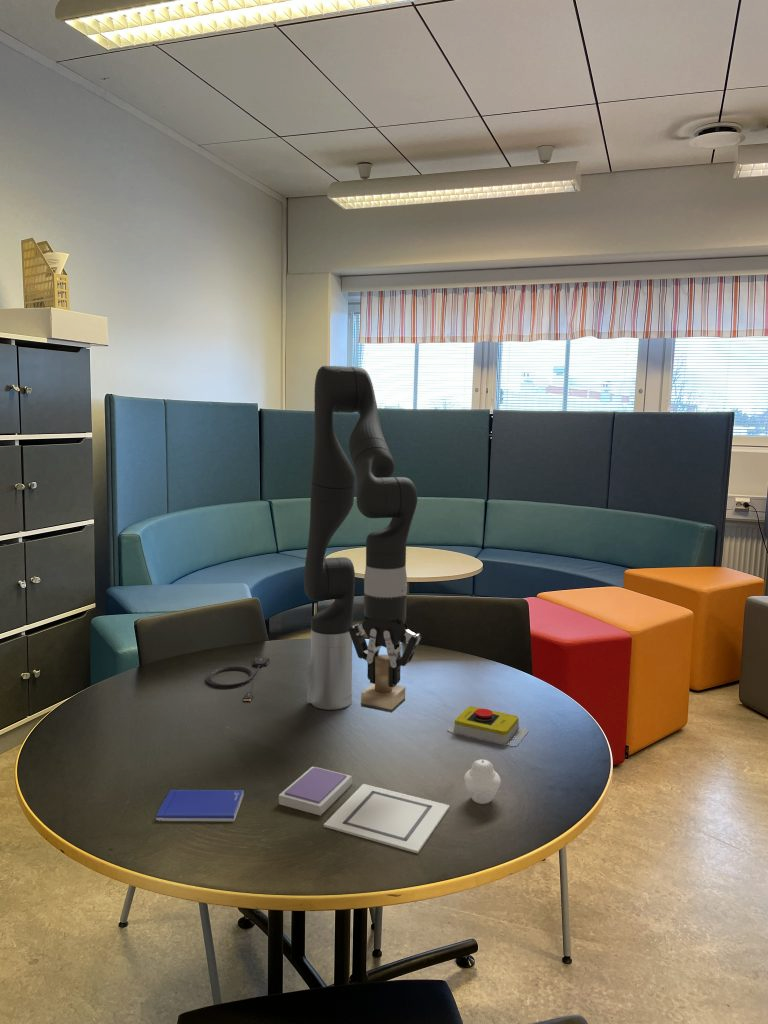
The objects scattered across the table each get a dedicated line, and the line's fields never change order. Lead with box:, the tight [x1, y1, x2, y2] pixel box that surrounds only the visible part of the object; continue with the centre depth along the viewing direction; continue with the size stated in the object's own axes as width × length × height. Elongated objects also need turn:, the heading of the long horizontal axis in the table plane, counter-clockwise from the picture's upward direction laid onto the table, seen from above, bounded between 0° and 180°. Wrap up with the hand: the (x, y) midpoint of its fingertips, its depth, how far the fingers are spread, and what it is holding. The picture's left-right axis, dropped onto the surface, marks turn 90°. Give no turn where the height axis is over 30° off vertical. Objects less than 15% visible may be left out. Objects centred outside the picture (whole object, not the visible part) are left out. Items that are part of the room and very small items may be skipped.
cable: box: [205, 657, 270, 703], centre depth 174 cm, size 14×28×2 cm, turn 0°
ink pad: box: [278, 766, 353, 816], centre depth 121 cm, size 8×11×2 cm
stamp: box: [360, 654, 406, 713], centre depth 127 cm, size 6×6×9 cm
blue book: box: [155, 789, 245, 822], centre depth 117 cm, size 2×8×12 cm
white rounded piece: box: [463, 759, 502, 805], centre depth 120 cm, size 6×6×7 cm
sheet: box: [323, 783, 451, 854], centre depth 114 cm, size 16×14×1 cm
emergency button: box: [447, 705, 529, 747], centre depth 147 cm, size 9×4×15 cm
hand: (383, 683), depth 127 cm, fingers closed on stamp, 3 cm apart
